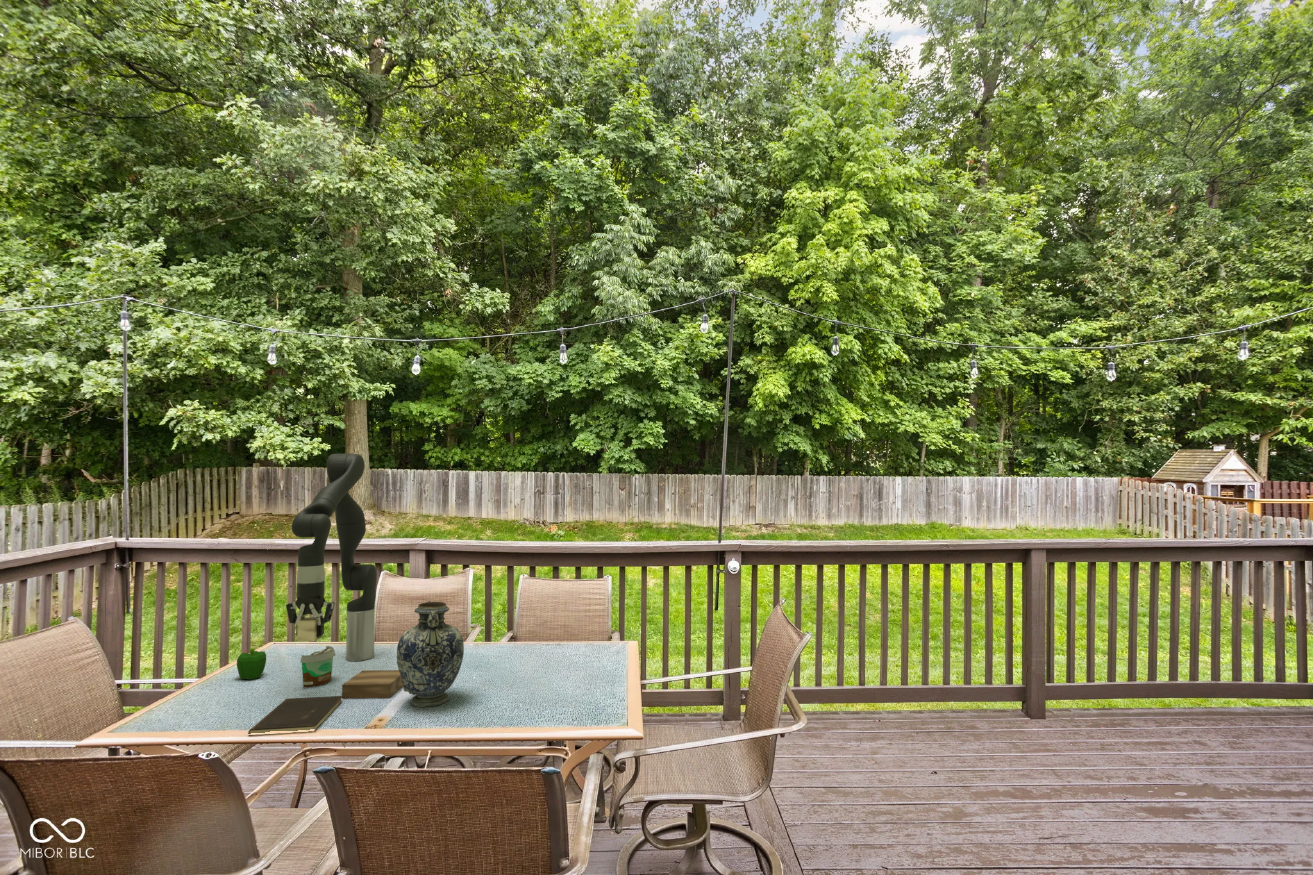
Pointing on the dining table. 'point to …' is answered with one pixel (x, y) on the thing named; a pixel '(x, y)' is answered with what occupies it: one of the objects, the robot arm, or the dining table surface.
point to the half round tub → (317, 667)
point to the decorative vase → (430, 656)
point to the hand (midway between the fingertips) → (309, 636)
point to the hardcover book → (297, 714)
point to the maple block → (307, 629)
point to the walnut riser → (372, 684)
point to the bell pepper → (251, 664)
